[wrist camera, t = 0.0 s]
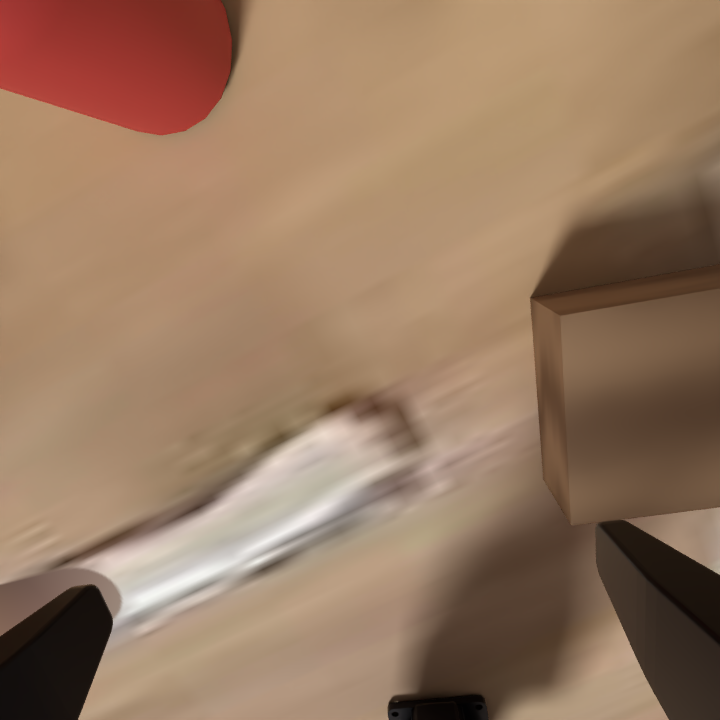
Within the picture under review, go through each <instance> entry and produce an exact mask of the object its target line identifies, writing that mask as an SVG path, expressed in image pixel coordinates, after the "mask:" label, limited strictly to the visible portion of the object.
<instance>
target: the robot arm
mask: <svg viewBox="0 0 720 720" xmlns="http://www.w3.org/2000/svg"><path fill="white" fill-rule="evenodd" d="M595 537H596V563H597V568H598V572H599V575H600V577H601V580H602V582H603V584H604V586H605V589H606V591H607V593H608V595H609V598H610V600H611V602H612V604H613V606H614V609H615V611H616V613H617V615H618V618H619V620H620V622H621V624H622V627H623V629H624V631H625V633H626V636H627V638H628V640H629V642H630V645H631V647H632V649H633V651H634V654H635V656H636V658H637V660H638V662H639V664H640V667H641V669H642V671H643V673H644V675H645V677H646V679H647V681H648V683H649V684H650V686H651V688H652V690H653V692H654V694H655V696H656V697H657V699H658V701H659V703H660V704H661V706H662V708H663V710H664V711H665V713H666V715H667V717H668V719H669V720H720V575H719V574H717V573H715V572H714V571H712V570H710V569H708V568H707V567H705V566H703V565H702V564H700V563H698V562H696V561H695V560H693V559H691V558H689V557H688V556H686V555H684V554H682V553H681V552H679V551H677V550H675V549H674V548H672V547H670V546H669V545H667V544H665V543H663V542H662V541H660V540H658V539H656V538H655V537H653V536H651V535H649V534H648V533H646V532H644V531H643V530H641V529H639V528H637V527H636V526H634V525H632V524H630V523H629V522H627V521H624V520H611V521H603V522H599V523H598V524H597V525H596V528H595ZM112 626H113V618H112V615H111V612H110V610H109V608H108V606H107V604H106V602H105V600H104V598H103V596H102V594H101V592H100V590H99V588H98V587H97V586H95V585H92V584H89V585H81V586H75V587H71V588H69V589H68V590H66V591H65V592H63V593H62V594H60V595H59V596H57V597H56V598H55V599H53V600H52V601H50V602H49V603H47V604H46V605H45V606H43V607H42V608H40V609H39V610H37V611H36V612H34V613H33V614H32V615H30V616H29V617H27V618H26V619H24V620H23V621H22V622H20V623H19V624H17V625H16V626H14V627H13V628H12V629H10V630H9V631H7V632H6V633H4V634H3V635H1V636H0V720H78V718H79V715H80V713H81V710H82V708H83V705H84V703H85V700H86V697H87V695H88V692H89V689H90V687H91V684H92V681H93V679H94V676H95V673H96V671H97V668H98V666H99V663H100V660H101V658H102V655H103V652H104V650H105V647H106V644H107V642H108V639H109V636H110V634H111V631H112ZM388 718H389V720H488V713H487V706H486V701H485V698H484V697H482V696H465V697H453V698H442V699H430V700H419V701H407V702H396V703H391V704H389V705H388Z"/></svg>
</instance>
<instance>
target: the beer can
mask: <svg viewBox="0 0 720 720" xmlns="http://www.w3.org/2000/svg"><path fill="white" fill-rule="evenodd" d="M231 52H232V38H231V33H230V29H229V24H228V19H227V15H226V10H225V8H224V6H223V4H222V2H221V0H0V88H1V89H4V90H7V91H10V92H14V93H17V94H20V95H23V96H26V97H29V98H33V99H36V100H39V101H42V102H45V103H49V104H52V105H55V106H58V107H61V108H65V109H68V110H71V111H74V112H77V113H80V114H84V115H87V116H90V117H93V118H96V119H100V120H103V121H106V122H109V123H112V124H116V125H119V126H122V127H125V128H128V129H131V130H135V131H139V132H144V133H150V134H156V135H166V134H171V133H177V132H182V131H186V130H187V129H189V128H190V127H192V126H194V125H195V124H197V123H198V122H200V121H202V120H203V119H205V118H206V117H207V116H208V114H209V113H210V112H211V110H212V109H213V108H214V106H215V105H216V104H217V103H218V101H219V100H220V99H221V97H222V94H223V91H224V88H225V85H226V83H227V80H228V77H229V74H230V71H231Z"/></svg>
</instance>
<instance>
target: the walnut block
mask: <svg viewBox="0 0 720 720" xmlns="http://www.w3.org/2000/svg"><path fill="white" fill-rule="evenodd" d="M530 302H531V316H532V330H533V343H534V357H535V371H536V384H537V398H538V412H539V425H540V439H541V453H542V466H543V480H544V481H545V483H546V485H547V486H548V488H549V490H550V491H551V493H552V495H553V496H554V498H555V500H556V501H557V503H558V505H559V506H560V508H561V510H562V511H563V513H564V515H565V516H566V518H567V519H568V521H569V523H570V524H571V526H573V525H581V524H589V523H597V522H603V521H611V520H621V519H629V518H637V517H645V516H653V515H661V514H669V513H677V512H685V511H693V510H701V509H709V508H717V507H720V264H718V265H713V266H707V267H701V268H696V269H690V270H684V271H679V272H673V273H668V274H662V275H656V276H651V277H645V278H639V279H634V280H628V281H622V282H617V283H611V284H606V285H600V286H594V287H589V288H583V289H577V290H572V291H566V292H560V293H555V294H549V295H544V296H538V297H532V298H530Z"/></svg>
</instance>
